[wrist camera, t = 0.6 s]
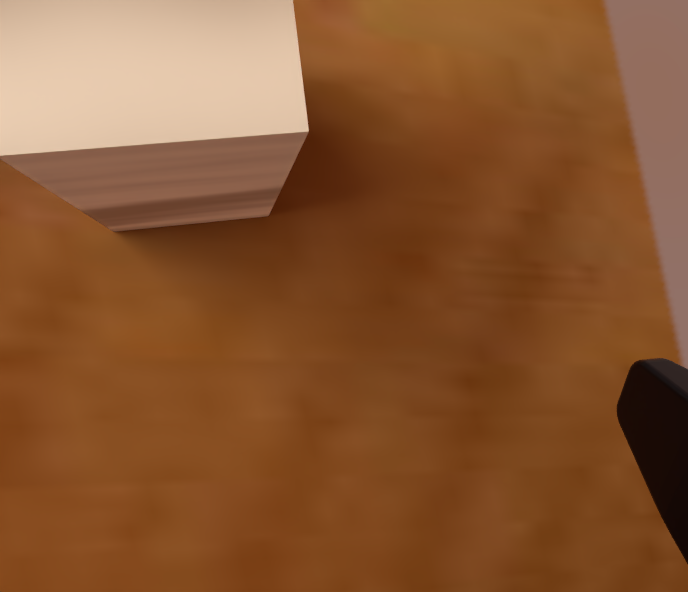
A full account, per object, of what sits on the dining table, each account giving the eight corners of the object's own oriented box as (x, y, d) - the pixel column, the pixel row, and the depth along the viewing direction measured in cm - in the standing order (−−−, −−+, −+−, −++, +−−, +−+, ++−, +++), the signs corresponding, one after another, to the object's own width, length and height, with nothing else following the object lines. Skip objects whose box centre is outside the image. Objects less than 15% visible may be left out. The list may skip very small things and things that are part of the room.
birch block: (268, 216, 22) (308, 131, 11) (113, 231, 21) (-5, 156, 10) (249, 67, 22) (272, -161, 11) (94, 77, 21) (-45, -161, 10)
